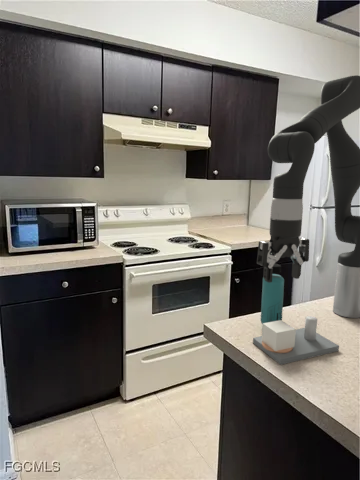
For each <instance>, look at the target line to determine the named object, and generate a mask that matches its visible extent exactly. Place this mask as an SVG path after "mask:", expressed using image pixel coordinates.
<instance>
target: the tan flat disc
mask: <svg viewBox="0 0 360 480" xmlns="http://www.w3.org/2000/svg"><path fill="white" fill-rule="evenodd" d="M262 346H263V347H264V348H265V349H267V350H269V351H271V352H275V353H288V352H290V351H292V350H293V348H288V349H283V350H278V351H274V350H273V349H272V348H271V347H269V346H268V345H267V344H265V343H264V342H263V341H262Z"/></svg>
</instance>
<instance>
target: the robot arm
mask: <svg viewBox="0 0 360 480" xmlns="http://www.w3.org/2000/svg"><path fill="white" fill-rule="evenodd" d="M359 109H360V75H358V74H357V75H349V76H345V77H341V78H340V77H339V78H337V79H333V80H329V81H326V82H325V83H324V84H322V87H321V90H320V105H318V106H316V107H314V108H312V109H311V110H309V111H308V112H307V113H305V114H304V115H303V116H302V117H301V118H299V120H298V121H297V122H295V123H294V124H293V123H292V124H291V125H289V126H287V127H285V128H283V129H282V130H279V131H278V132H276V133H275V134H274V135H273V136H272V137H271V139H270V140H269V143H268V146H267V154H268V157H269V159H270V160H271V161H272V162H274V163H276V164H291V166H290V167H289V169H288V170H287V172H283V173H279V174H276V175H275V176H274V179H273V186H272V200H271V201H272V202H271V206H270V218H269V235H270V239H269V241H262V240H259V241H258V244H257V245H258V248H257V257H256V264H257V265H260V266H261V267H263V274H262V275H263V277H262V279H263V278H264V279H265V281H266V282H268V283H270V282H272V274H274V273H273V268H272V267H273V265H274V264H276V263H277V262H278V261H279V260H280V259H284V258H290V259H291V260H292V264H291V265H292V266H291V277H292V278H293V279H296V280H298V279H300V277H301V275H302V265H303V264H304V263H305V262H309V260H310V259H309V258H310V239H308V238H305V237H300V236H301V235H302V225H303V212H304V211H303V210H304V206H303V205H304V203H303V196H304V183H305V180H306V176H307V173H308V170H309V167H310V164H311V162H312V159H313V156H314V153H315V147H316V146H315V144H317V142H318V141H320V139H322V137H323V136H325V134H326V136H327V142H328V143H327V144H328V151H329V162H330V163H329V164H330V165H329V166H330V173H331V181H332V189H333V198H334V231H335V232H334V233H335V236H336V239H337V240H339V242H343V243H345V244H351V245H354V248H353V250H352V251H350V252H349V251H348V252H347V251H346V252H342V253H340V254H338V256H337V266H336V275H335V276H336V277H335V285H334V295H333V305H332V312H333V313H335V314H336V315H338V316H341V317H345V318H349V319H351V318H352V319H359V318H360V215H353V214H352V202H353V199H354V197H355V196H356V194H357V192H358V190H359V189H360V147H359V145H358V144H357V142H355V141H354V140H353V138H352V137H351V135H349V134H348V132H347V131H346V128H345V127H344V124H343V119H345V118H346V117H348V116H350V115H351V114H352V113H354V112H356V111H358V110H359Z"/></svg>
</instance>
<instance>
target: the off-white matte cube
mask: <svg viewBox="0 0 360 480" xmlns="http://www.w3.org/2000/svg"><path fill="white" fill-rule="evenodd" d="M261 325H262V328H261V329H262V330H261V336H262V341H263V342H264V343H265V344H267V345H268V346H269V347H271V348H272V349H273V350H274V351H278V350H283V349H288V348H293V347H294V346H295V334H296V328H295V327H293V326H291V324H288V323H287V322H285V321H283V319H282V320H279V321H273V322H267V323H263V324H261Z"/></svg>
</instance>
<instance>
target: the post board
mask: <svg viewBox="0 0 360 480" xmlns="http://www.w3.org/2000/svg"><path fill="white" fill-rule="evenodd" d="M304 322H305V323H304V327H302V328H297V329H296V328H295V329H296V334H295V346H294V347H293V350H292V351H290V352H288V353H275V352H271V351H269V350H267V349H265V348H264V347H263V346H262V335H260V336H255V337H252V343H253V344H254V345H255V346H257V348H258V349H260V350H261V351H263V352H264V353H265V354H266V355H267V356H269V357H270V358H271V359H272V360H274V361H275V362H276V363H278V364H279V365H287V364H289V363H293V362H298V361H302V360H306V359H311V358H315V357H318V356H324V355H328V354H331V353H335V352H339V350H340V345H339V344H337V343H335V342H333V340H330V339H328V338H326V337H325V336H323V335H321V334H319V333H318V332H317V330H318V329H317V327H318V318H317V317H315V316H312V315H310V316H309V315H307V316H305V321H304Z"/></svg>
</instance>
